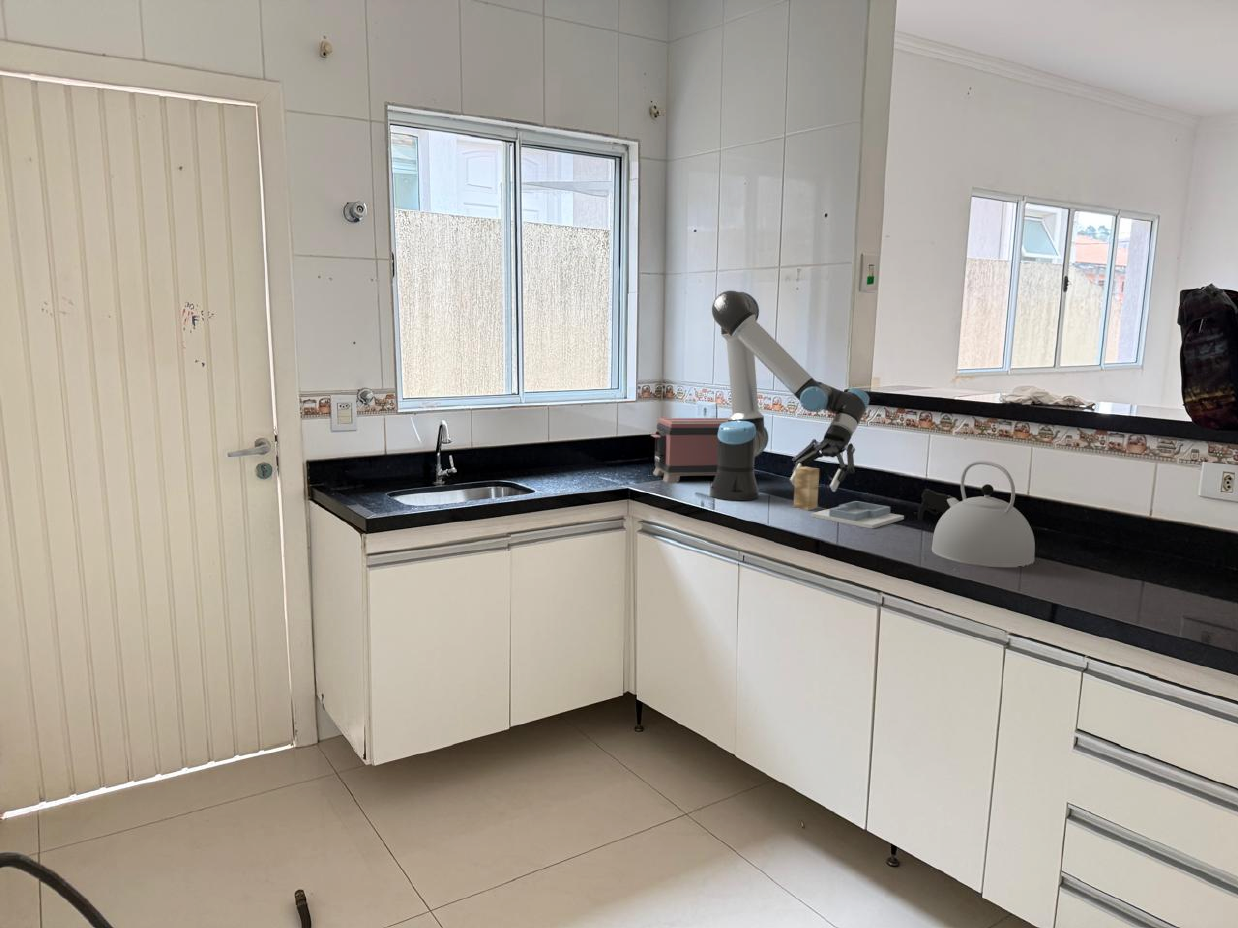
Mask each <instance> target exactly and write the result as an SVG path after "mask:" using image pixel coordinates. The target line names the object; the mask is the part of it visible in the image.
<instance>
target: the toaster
mask: <svg viewBox="0 0 1238 928" xmlns="http://www.w3.org/2000/svg"><path fill="white" fill-rule="evenodd" d="M728 418H729V417H719V418H718V417H713V418H711V417H706V418H705V417H703V418H702V417H699V418H697V417H696V418H695V417H686V418H685V417H682V418H681V417H667V418H664V417H660V418H658V421H657V422H658V423H657V424H656V432H655V434H653V433H652V434H650V437H653V438H655V439H654V466H655V469H654V471H653V472H652V474H653V475H654V476H656V477H663V479H662V481H663V482H664V483H666V484H677V483H679V481H680V477H689V476H693V477H694V476H695V477H697V476H701V477H702V476H715V475H716V472H717V453H718V431H719V426H720V425H721V424H722V423H725V422H728Z"/></svg>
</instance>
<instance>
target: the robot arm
mask: <svg viewBox="0 0 1238 928" xmlns="http://www.w3.org/2000/svg"><path fill="white" fill-rule="evenodd" d="M759 307H760V306H759V304H758V302H757V300H756V299H755V298H754V297H753V296H752V295H750V294H749V293H747V292H744V291H736V290H726V291H722V292H721V293H719V294H718V295H717V296H716V297H715V299H714V300H713V301H712V306H711V314H712V318H713V319H714V321H715V322H716V324H718V325H719V327H720V332H721V336H722V338H724V340H725V341H726V349H727V350H726V351H727V363H728V364H727V365H728V373H729V374H728V376H729V385H730V386H729V387H730V389H729V390H730V399H731V401H730V402H731V412H732V413H731V415H730V416H729V417H727V418H728V422H725V423H722V424H721V425H720V426H719V431H718V453H717V472H716V475H714V478H713V482H712V484H711V487H710V497H712V498H715V499H719V500H726V501H727V500H729V501H752V500H755V499H758V498H759V488H758V485H757V480H756V476H755V458H756V457H758V456H759V455H761V454H762V453H763V452H764V451H765V450H766V448H767V447H768V442H769V432H768V430H767V428H766V427H765V419H764V418H765V417H764V416H765V415H764V414H762V413H761V412H760V410H759V400H758V387H757V385H758V384H757V374H756V360H755V357H756V358H757V359H758V360H759V361H760V362H761V363H762V364H763V365H764V367H766V368H767V369H768V370H769V371H770V373H772V374H773V376H775V377H776V379H777V380H779V382H781V383H782V384H783V386H785V387H786V388H787V389H788V390H789V391H790V392H791V394H793V396H795V398H796V399H797V400H799V402H800V405H801V407H802V409H804V410H806V411H807V412H810V413H816V412H821V411H822V410H824V411H826V412H829V413H832V414H835V415H834V417H833V418H832V420H831V421H830V424H829V427H828V428H827V429H826V431H825V434H824V436H823V440H821V441H818V440H816V439H815V438H813V439H812V440H811V442H810V443H809V444H808V445H807V446H806V447H805V448H803V449H802V450H801V451H800V452H799V453H798V454H797V455H795V456H794V457H793V458H792V459H791V461H792V462H793V464H794V465H795V466H794V467H793V469H792V475H791V477H790V478H789V481H790V483H791V485H792V486H794V487H795V470H796V468H800V467H806V466H807V465H808V464H810V463H812V462H814V461H816V460H818V459H822V458H825V457H827V458H833V459H834V458H835V457H836V458H837V461H838V463H839V466H840V468H838V469H837V471H836V472H835V474H834V476H833V478H832V480H831V483H830V484H829V488H830V489H831V492H833V493H835V492H836V491H837V489H838V487H839V485H840V483H843V481H844V480H845V478H846V476H847V475H848V474H851V475H852V474H854V473H855V462H854V458H855V457H854V453H855V451H856V449H855V447H854V445H853V443H850V441H851V439H852V437H853V435H854V434H855V431H856V429H857V427H858V425H859V424H860V423H861V420H862V418H863V416H864V414H865V413H866V410H867V408H868V405H869V403H870V396H869V394H868V393H867V392H866V391H865V390H863V389H861V388H857V387H856V388H855V387H853V388H850V389H849V390H848V391H843V390H840V389H837V388H836V387H833V386H831V385H828V384H826V383H823V382H822V381H818V380H815V378H813V377H812V376H811V375H810V374H809V373H808V372H807V371H806V370H805V369H804V368H803V366H802V365H801V364H799V362H798V361H796V360H795V359H794V358H793V357H792V355H791V354H790V353H788V352H787V351H786V350H785V348H783V346H782V345H781V344H779V343H778V342H777V340H775V338H773V337H772V335H771V334H769V332H768V331H767V330H766V329H765V328H763V326H762V325H761V324H760V323H759V322H758V321H757V320H759V316H760V308H759ZM820 451H821V452H820ZM845 451H846V457H847V466H846V464H845V461H844V458H843V457H842V453H844V452H845Z"/></svg>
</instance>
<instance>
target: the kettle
mask: <svg viewBox="0 0 1238 928" xmlns="http://www.w3.org/2000/svg"><path fill="white" fill-rule="evenodd" d="M977 465H985V466H990V467H995V468H997V469H998V470H1000V471H1001V472H1002V473H1003V474H1004V475H1005V476H1006V478H1007V479H1008V482H1009V484H1010V485H1009V486H1010V490H1011V491H1010V493H1011V495H1010V501H1009V502H1007V501H1005V500H1003V499H999V498H996V497H993V496H991V495H992V494H994V487H993V485H991V484H987V483H986V484H984V485H983V486H981V493H982V494H983V495H984V496H982V495H981V496H972V497H968V498H967V495H966V490H965V479H966V475H967V473H968V471H969V470H970V469H971V468H972V467H974V466H977ZM1015 487H1016V486H1015V483H1014V480H1013V477H1012V476H1011V474H1010V473H1009V471H1008V470H1007V469H1006V468H1005V467H1004V466H1002V465H1001V464H999V463H995V462H993V461H987V460H976V461H973V462H971V463H969V464H967V465H966V466H965V468H964V469H963V471H962V475H961V478H960V492H961V497H962V500H961V501H960V500H958V499H957V498H956V497H953V498H950V499H947V501H948V503H949V505H950V507H951V508H949V509H948V510H947V511H946V512H945V513H942V515H941V517H940V518H939V520H938V522H937V523H936V526H935V529H934V531H933V537H932V544H931V551H932V553H933V554H935V555H937V556H938V557H941V558H943V559H946V560H949V561H953V562H958V563H962V564H966V565H967V564H968V565H971V566H980V567H990V568H991V567H992V568H1019V567H1018V566H1022V567H1026V566H1025V565H1027V566H1030V565H1032V564H1034V563H1035V551H1036V547H1035V546H1036V544H1035V541H1036V540H1035V536H1034V533H1033V530H1032V526H1031V525H1030V523H1029V521H1028V520H1027V518H1026V517H1025V516H1024V515H1023V514H1022V513H1021V512H1020V510H1018V509H1017V508H1016V507H1014V503H1015V498H1016V488H1015ZM959 501H960V502H959ZM1033 562H1034V563H1033ZM1031 563H1032V564H1031ZM1029 564H1030V565H1029Z"/></svg>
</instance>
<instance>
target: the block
mask: <svg viewBox="0 0 1238 928" xmlns="http://www.w3.org/2000/svg"><path fill="white" fill-rule="evenodd" d="M819 481H820V468H817V467H810V466H804V467H800V468H796V470H795V486H794V491H793V508H794V509H797V508H799V510H804V511H810V510H811V509H812V510H815V508H816V509H818V499H819ZM812 510H811V511H812Z"/></svg>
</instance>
